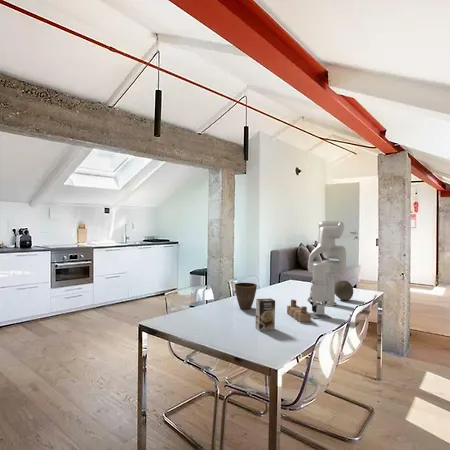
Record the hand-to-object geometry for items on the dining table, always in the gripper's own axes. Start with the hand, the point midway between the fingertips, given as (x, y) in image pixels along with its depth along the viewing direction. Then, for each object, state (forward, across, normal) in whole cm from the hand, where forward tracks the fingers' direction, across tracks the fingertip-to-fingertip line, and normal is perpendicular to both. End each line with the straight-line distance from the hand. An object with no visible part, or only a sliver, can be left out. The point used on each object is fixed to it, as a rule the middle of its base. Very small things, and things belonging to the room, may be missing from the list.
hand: (318, 311), depth 214 cm
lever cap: (0, 0, 0) cm, 0 cm away
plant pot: (+3, -41, +24) cm, 48 cm away
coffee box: (+3, -41, -20) cm, 46 cm away
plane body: (+3, -14, -2) cm, 14 cm away
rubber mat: (+3, 0, 0) cm, 3 cm away
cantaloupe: (+3, +39, +38) cm, 54 cm away
